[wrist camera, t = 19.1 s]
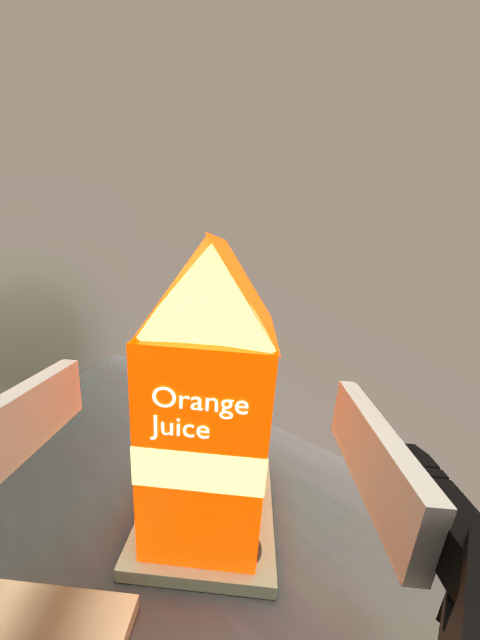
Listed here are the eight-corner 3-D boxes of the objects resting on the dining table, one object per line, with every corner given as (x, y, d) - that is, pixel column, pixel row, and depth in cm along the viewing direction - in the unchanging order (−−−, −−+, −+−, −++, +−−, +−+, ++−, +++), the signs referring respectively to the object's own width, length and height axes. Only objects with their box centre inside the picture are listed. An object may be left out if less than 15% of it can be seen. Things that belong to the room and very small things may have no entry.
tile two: (114, 582, 16) (113, 569, 16) (166, 459, 26) (166, 450, 26) (275, 600, 16) (277, 588, 16) (267, 469, 26) (268, 460, 25)
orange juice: (133, 562, 17) (117, 225, 12) (175, 456, 25) (175, 237, 20) (258, 576, 16) (296, 236, 11) (257, 464, 25) (278, 243, 20)
